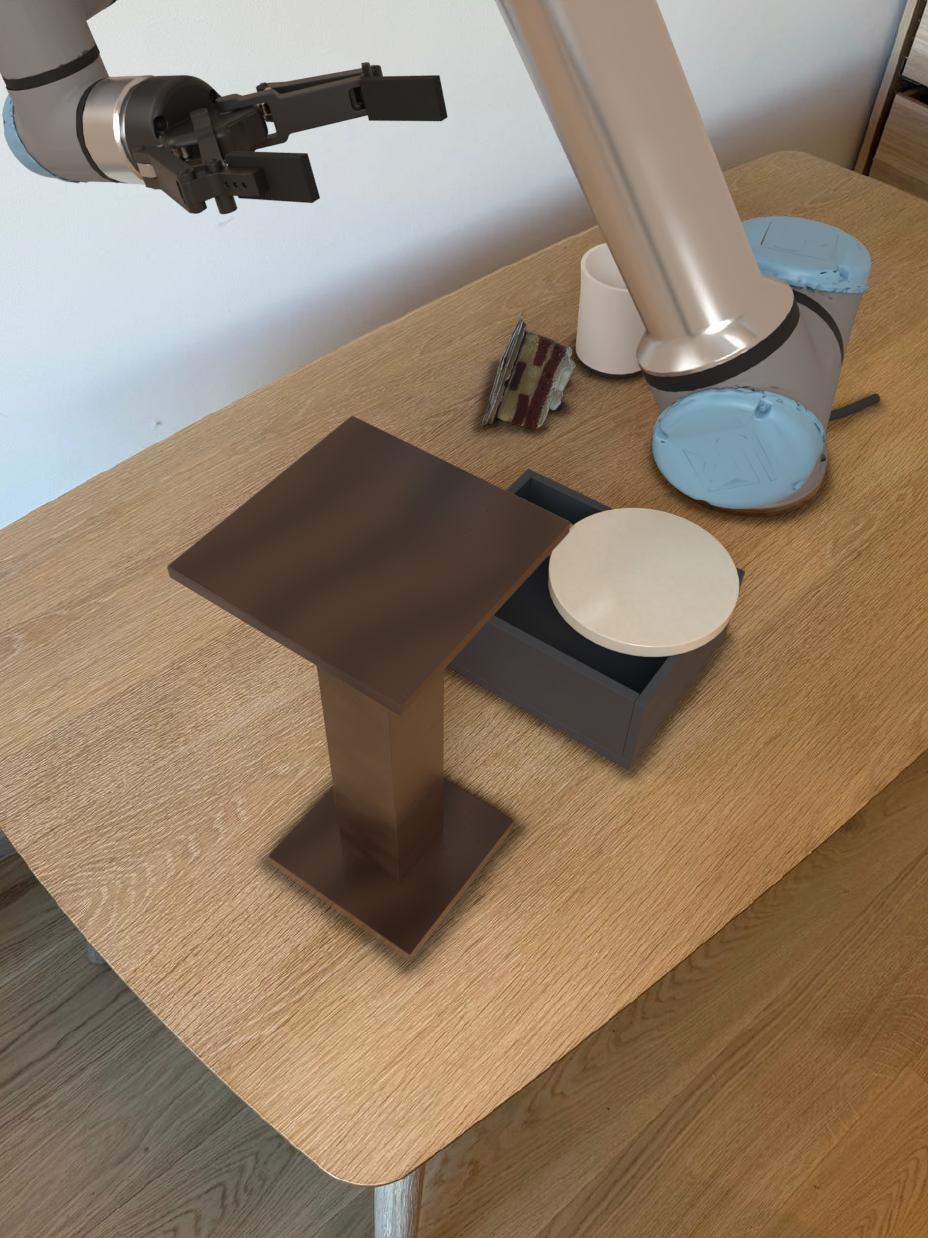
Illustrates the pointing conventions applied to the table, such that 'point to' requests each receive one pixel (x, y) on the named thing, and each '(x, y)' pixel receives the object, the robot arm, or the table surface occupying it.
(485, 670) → the tub
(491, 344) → the table surface
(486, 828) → the stand
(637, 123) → the robot arm
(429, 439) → the table surface
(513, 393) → the chocolate cake
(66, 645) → the table surface
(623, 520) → the round paddle with handle
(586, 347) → the mug
